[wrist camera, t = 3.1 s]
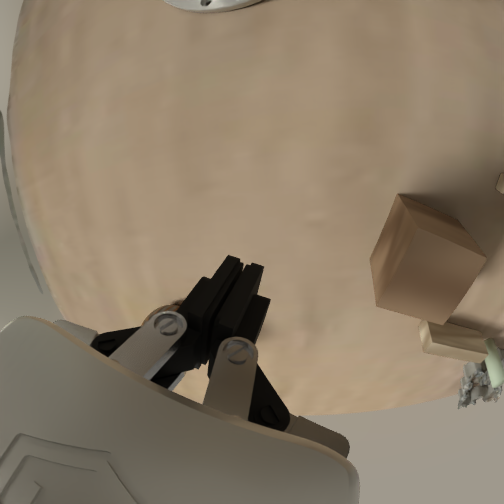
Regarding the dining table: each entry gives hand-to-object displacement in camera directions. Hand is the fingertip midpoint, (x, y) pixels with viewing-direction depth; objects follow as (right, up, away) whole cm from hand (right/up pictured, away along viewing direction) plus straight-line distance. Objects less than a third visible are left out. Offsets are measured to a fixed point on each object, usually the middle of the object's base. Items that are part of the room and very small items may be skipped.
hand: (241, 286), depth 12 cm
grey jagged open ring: (+32, -15, +12) cm, 37 cm away
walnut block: (+14, +3, +7) cm, 15 cm away
